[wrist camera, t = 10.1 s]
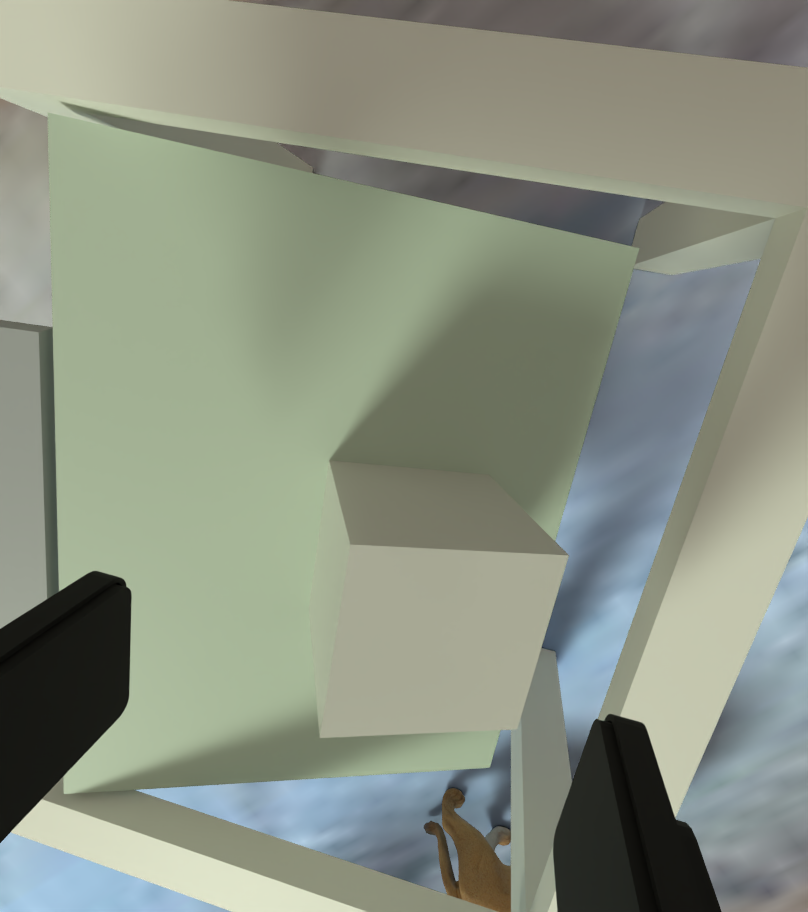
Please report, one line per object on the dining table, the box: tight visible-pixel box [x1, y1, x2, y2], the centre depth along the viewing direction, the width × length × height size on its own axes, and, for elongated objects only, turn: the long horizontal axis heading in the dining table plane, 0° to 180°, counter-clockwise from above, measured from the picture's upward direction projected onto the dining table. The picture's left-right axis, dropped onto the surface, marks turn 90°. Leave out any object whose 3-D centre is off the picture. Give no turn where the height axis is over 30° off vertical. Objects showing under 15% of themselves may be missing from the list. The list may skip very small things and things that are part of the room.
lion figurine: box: [424, 788, 511, 912], centre depth 29 cm, size 15×5×9 cm, turn 108°
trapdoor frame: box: [0, 0, 808, 912], centre depth 21 cm, size 19×24×16 cm
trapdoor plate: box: [0, 113, 639, 794], centre depth 17 cm, size 29×19×4 cm
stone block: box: [309, 460, 569, 738], centre depth 14 cm, size 5×5×5 cm
